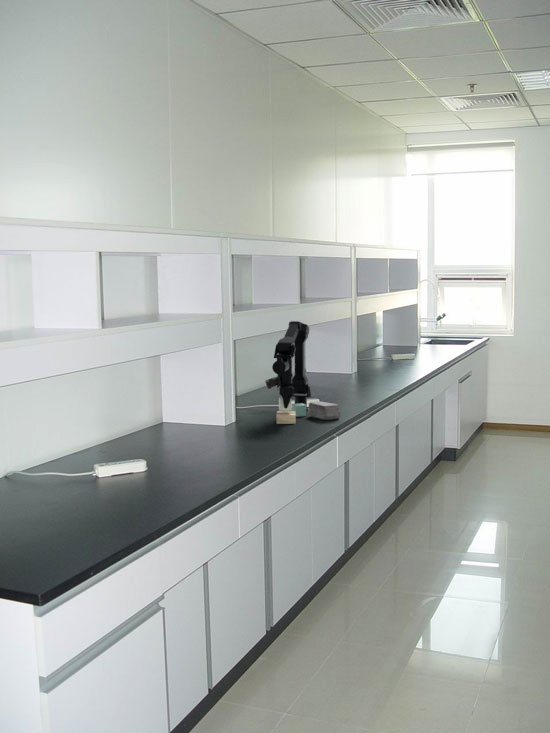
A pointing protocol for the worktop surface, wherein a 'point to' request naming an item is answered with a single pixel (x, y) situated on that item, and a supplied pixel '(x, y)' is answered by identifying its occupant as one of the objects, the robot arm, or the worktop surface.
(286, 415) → the maple block
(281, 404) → the cream cube
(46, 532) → the worktop surface
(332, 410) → the decorative stone
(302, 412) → the teal cube
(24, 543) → the worktop surface
